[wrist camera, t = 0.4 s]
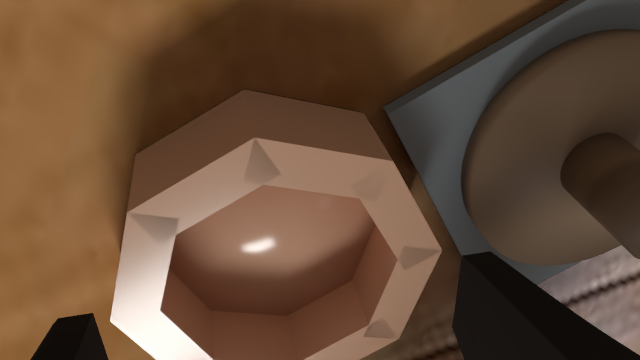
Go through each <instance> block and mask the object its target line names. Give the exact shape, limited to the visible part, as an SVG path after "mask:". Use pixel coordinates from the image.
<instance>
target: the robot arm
mask: <svg viewBox="0 0 640 360" xmlns="http://www.w3.org/2000/svg"><path fill="white" fill-rule="evenodd" d="M452 328H453V330H454V333H455V336H456V338H457V341H458V344H459V346H460V349H461V352H462V354H463V357H464V359H465V360H640V355H638V354H636V353H635V352H633V351H632V350H630V349H629V348H627V347H625V346H624V345H622V344H621V343H619V342H618V341H616V340H615V339H613V338H611V337H610V336H608V335H607V334H605V333H604V332H602V331H601V330H599V329H598V328H596V327H595V326H593V325H592V324H590V323H589V322H587V321H586V320H584V319H583V318H582V317H580V316H579V315H577V314H576V313H574V312H573V311H572V310H570V309H569V308H567V307H566V306H564V305H563V304H562V303H560V302H559V301H558V300H556V299H555V298H553V297H552V296H551V295H549V294H548V293H547V292H545V291H544V290H542V289H541V288H540V287H538V286H537V285H536V284H534V283H533V282H532V281H530V280H529V279H528V278H526V277H525V276H524V275H522V274H521V273H520V272H518V271H517V270H516V269H514V268H513V267H512V266H510V265H509V264H508V263H506V262H505V261H503V260H502V259H501V258H499V257H498V256H497V255H495V254H494V253H492V252H491V251H488V252H482V253H476V254H469V255H463V256H462V261H461V268H460V275H459V282H458V290H457V297H456V304H455V311H454V318H453V325H452ZM31 360H108V357H107V354H106V351H105V348H104V345H103V342H102V339H101V336H100V333H99V330H98V327H97V324H96V321H95V318H94V315H93V313H90V314H83V315H77V316H71V317H64V318H58V319H57V320H56V322H55V323H54V324H53V325H52V327H51V328H50V330H49V332H48V333H47V335H46V336H45V338H44V339H43V341H42V343H41V344H40V346H39V347H38V349H37V350H36V352H35V353H34V355H33V357H32V358H31Z"/></svg>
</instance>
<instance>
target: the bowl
mask: <svg viewBox="0 0 640 360" xmlns="http://www.w3.org/2000/svg"><path fill="white" fill-rule="evenodd" d="M441 252H442V249H441V247H440V245H439V244H438V242H437V240H436V238H435V236H434V234H433V233H432V231H431V229H430V227H429V225H428V224H427V222H426V220H425V218H424V216H423V214H422V213H421V211H420V209H419V207H418V205H417V204H416V202H415V200H414V198H413V196H412V194H411V193H410V191H409V189H408V187H407V185H406V184H405V182H404V180H403V178H402V176H401V174H400V173H399V171H398V169H397V167H396V165H395V164H394V162H393V160H392V158H391V157H390V155H389V153H388V152H387V150H386V148H385V147H384V145H383V144H382V142H381V140H380V139H379V137H378V135H377V134H376V132H375V130H374V129H373V127H372V126H371V124H370V122H369V121H368V119H367V117H366V116H365V114H364V113H361V112H356V111H351V110H346V109H341V108H336V107H331V106H326V105H321V104H316V103H311V102H305V101H300V100H295V99H290V98H285V97H280V96H275V95H270V94H265V93H260V92H255V91H250V90H245V89H244V90H242V91H241V92H239V93H237V94H236V95H234V96H232V97H231V98H229V99H227V100H226V101H224V102H222V103H221V104H219V105H217V106H216V107H214V108H212V109H211V110H209V111H207V112H206V113H204V114H202V115H200V116H199V117H197V118H195V119H194V120H192V121H190V122H189V123H187V124H185V125H184V126H182V127H180V128H179V129H177V130H175V131H174V132H172V133H170V134H169V135H167V136H165V137H164V138H162V139H160V140H159V141H157V142H155V143H154V144H152V145H150V146H149V147H147V148H145V149H144V150H142V151H140V152H139V153H137V154H135V161H134V168H133V175H132V181H131V188H130V194H129V201H128V207H127V214H126V220H125V226H124V233H123V239H122V246H121V252H120V258H119V265H118V272H117V278H116V285H115V292H114V298H113V305H112V312H111V318H110V321H111V322H112V323H113V324H114V325H115V326H117V327H118V328H119V329H120V330H121V331H123V332H124V333H125V334H126V335H127V336H129V337H130V338H131V339H132V340H133V341H135V342H136V343H137V344H138V345H139V346H140V347H142V348H143V349H144V350H145V351H146V352H148V353H149V354H150V355H151V356H152V357H154V358H155V359H156V360H360V359H362V358H364V357H366V356H368V355H369V354H371V353H373V352H375V351H377V350H379V349H381V348H383V347H385V346H387V345H388V344H390V343H392V342H394V341H396V340H398V339H399V338H400V336H401V334H402V331H403V329H404V327H405V325H406V323H407V321H408V319H409V317H410V315H411V313H412V311H413V309H414V307H415V305H416V303H417V301H418V299H419V297H420V295H421V293H422V291H423V289H424V287H425V285H426V283H427V280H428V278H429V276H430V274H431V272H432V270H433V268H434V266H435V264H436V262H437V260H438V258H439V256H440V254H441Z"/></svg>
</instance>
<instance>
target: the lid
mask: <svg viewBox="0 0 640 360" xmlns="http://www.w3.org/2000/svg"><path fill="white" fill-rule="evenodd" d="M461 192H462V197H463V202H464V205H465V208H466V210H467V213H468V215H469V217H470V218H471V220H472V222H473V223H474V225H475V226H476V227H477V229H478V230H479V232H480V233H481V234H482V236H483V237H484V239H485V240H486V241H487V242H488V243H489V244H490V245H491V246H492V247H493V248H494V249H495V250H497V251H498V252H499V253H501V254H502V255H504V256H506V257H508V258H510V259H512V260H515V261H518V262H521V263H526V264H531V265H541V266H553V265H564V264H570V263H575V262H579V261H583V260H586V259H590V258H592V257H595V256H598V255H600V254H603V253H605V252H607V251H609V250H612V249H614V248H616V247H618V246H620V245H622V246H623V247H625V248H626V249H627V250H628V251H629V252H630V253H631V254H632V255H633V256H634V257H635V258H637V259H640V30H635V29H611V30H602V31H597V32H593V33H589V34H585V35H582V36H579V37H576V38H574V39H571V40H568V41H566V42H564V43H562V44H560V45H558V46H556V47H554V48H552V49H550V50H548V51H547V52H545V53H544V54H542V55H540V56H539V57H537V58H536V59H534V60H533V61H531V62H530V63H529V64H528V65H526V66H525V67H524V68H523V69H521V70H520V71H519V72H517V73H516V74H515V75H514V76H513V77H512V78H511V79H510V80H509V81H508V82H507V83H506V84H505V85H504V86H503V87H502V88H501V89H500V91H499V92H498V93H497V94H496V95H495V97H494V98H493V99H492V100H491V101H490V103H489V104H488V106H487V107H486V109H485V110H484V112H483V113H482V115H481V116H480V118H479V120H478V122H477V124H476V126H475V127H474V129H473V131H472V134H471V136H470V139H469V141H468V144H467V146H466V150H465V154H464V158H463V162H462V170H461Z"/></svg>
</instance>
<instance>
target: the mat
mask: <svg viewBox="0 0 640 360" xmlns="http://www.w3.org/2000/svg"><path fill="white" fill-rule="evenodd" d="M611 29H635V30H640V0H568V1H566V2H564V3H563V4H561V5H559V6H557V7H556V8H554V9H552V10H551V11H549V12H547V13H545V14H544V15H542V16H540V17H538V18H537V19H535V20H533V21H532V22H530V23H528V24H526V25H525V26H523V27H521V28H519V29H518V30H516V31H514V32H512V33H511V34H509V35H507V36H506V37H504V38H502V39H500V40H499V41H497V42H495V43H493V44H492V45H490V46H488V47H486V48H485V49H483V50H481V51H480V52H478V53H476V54H474V55H473V56H471V57H469V58H467V59H466V60H464V61H462V62H461V63H459V64H457V65H455V66H454V67H452V68H450V69H448V70H447V71H445V72H443V73H441V74H440V75H438V76H436V77H435V78H433V79H431V80H429V81H428V82H426V83H424V84H422V85H421V86H419V87H417V88H415V89H414V90H412V91H410V92H409V93H407V94H405V95H403V96H402V97H400V98H398V99H396V100H395V101H393V102H391V103H390V104H388V105H386V106H384V107H383V108H384V110H385V112H386V114H387V116H388V118H389V120H390V122H391V124H392V126H393V127H394V129H395V131H396V133H397V135H398V137H399V139H400V141H401V143H402V145H403V146H404V148H405V150H406V152H407V154H408V156H409V158H410V160H411V162H412V164H413V166H414V167H415V169H416V171H417V173H418V175H419V177H420V179H421V181H422V183H423V185H424V186H425V188H426V190H427V192H428V194H429V196H430V198H431V200H432V202H433V204H434V205H435V207H436V209H437V211H438V213H439V215H440V217H441V219H442V221H443V223H444V225H445V226H446V228H447V230H448V232H449V234H450V236H451V238H452V240H453V242H454V244H455V245H456V247H457V249H458V251H459V253H460V255H461V257H462V256H463V255H469V254H476V253H482V252H488V251H491V252H492V253H494V254H495V255H497V256H498V257H499V258H501V259H502V260H503V261H505V262H506V263H508V264H509V265H510V266H512V267H513V268H514V269H516V270H517V271H518V272H520V273H521V274H522V275H524V276H525V277H526V278H528V279H529V280H530V281H532V282H533V283H534V284H538V283H540V282H542V281H544V280H546V279H548V278H550V277H552V276H554V275H556V274H557V273H559V272H561V271H563V270H565V269H567V268H569V267H571V266H573V265H575V264H577V263H579V262H580V261H579V262H575V263H570V264H564V265H553V266H541V265H531V264H526V263H521V262H518V261H515V260H512V259H510V258H508V257H506V256H504V255H502V254H501V253H499V252H498V251H497V250H495V249H494V248H493V247H492V246H491V245H490V244H489V243H488V242H487V241H486V240H485V239H484V237H483V236H482V234H481V233H480V232H479V230H478V229H477V227H476V226H475V225H474V223H473V222H472V220H471V218H470V217H469V215H468V213H467V210H466V208H465V205H464V202H463V197H462V192H461V170H462V162H463V158H464V154H465V150H466V146H467V144H468V141H469V139H470V136H471V134H472V131H473V129H474V127H475V126H476V124H477V122H478V120H479V118H480V116H481V115H482V113H483V112H484V110H485V109H486V107H487V106H488V104H489V103H490V101H491V100H492V99H493V98H494V97H495V95H496V94H497V93H498V92H499V91H500V89H501V88H502V87H503V86H504V85H505V84H506V83H507V82H508V81H509V80H510V79H511V78H512V77H513V76H514V75H515V74H516V73H517V72H519V71H520V70H521V69H523V68H524V67H525V66H526V65H528V64H529V63H530V62H531V61H533V60H534V59H536V58H537V57H539V56H540V55H542V54H544V53H545V52H547V51H548V50H550V49H552V48H554V47H556V46H558V45H560V44H562V43H564V42H566V41H568V40H571V39H574V38H576V37H579V36H582V35H585V34H589V33H593V32H597V31H602V30H611Z"/></svg>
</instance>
